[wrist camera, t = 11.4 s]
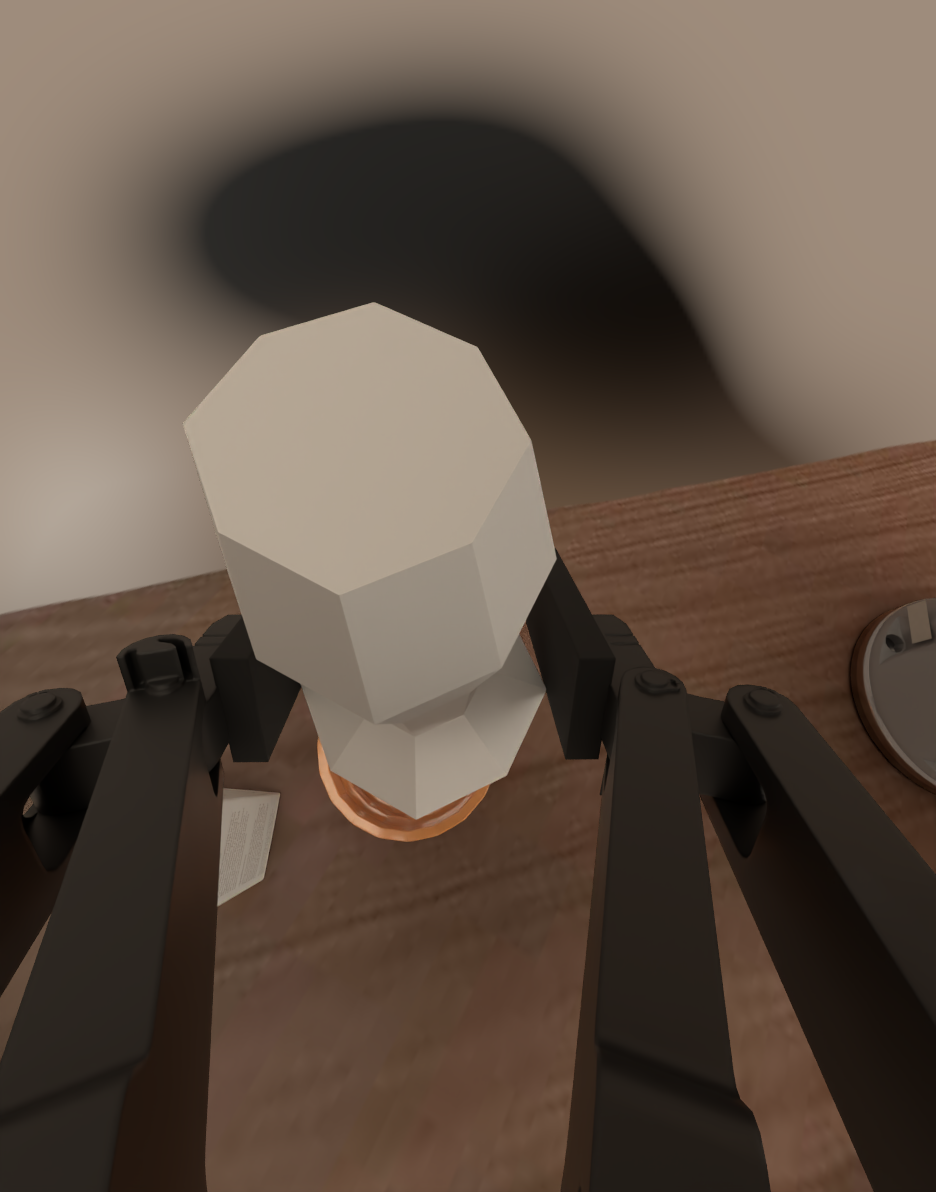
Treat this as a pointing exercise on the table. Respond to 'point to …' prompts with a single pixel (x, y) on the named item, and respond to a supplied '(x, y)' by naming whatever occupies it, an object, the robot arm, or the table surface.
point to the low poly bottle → (383, 545)
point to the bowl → (391, 809)
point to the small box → (245, 839)
